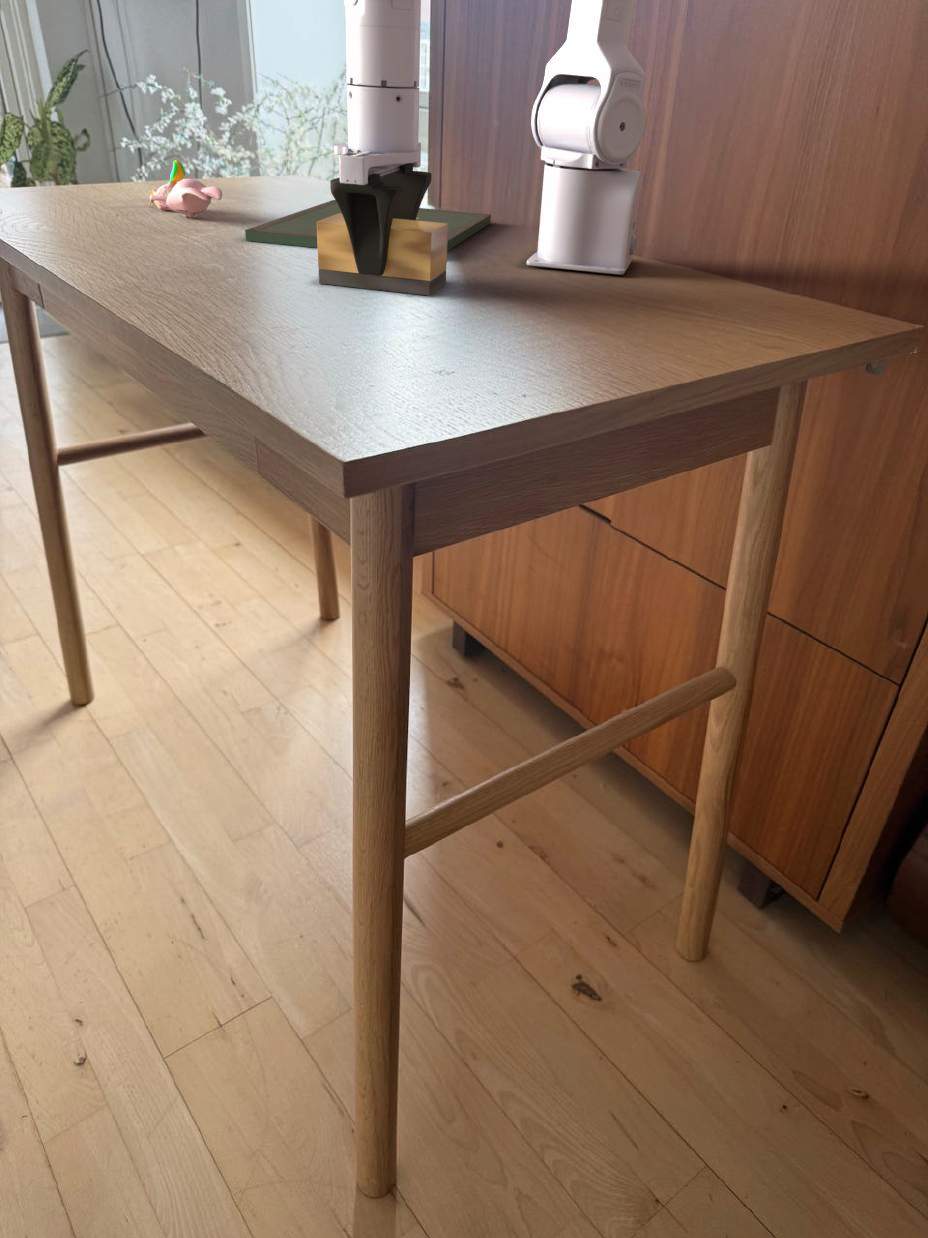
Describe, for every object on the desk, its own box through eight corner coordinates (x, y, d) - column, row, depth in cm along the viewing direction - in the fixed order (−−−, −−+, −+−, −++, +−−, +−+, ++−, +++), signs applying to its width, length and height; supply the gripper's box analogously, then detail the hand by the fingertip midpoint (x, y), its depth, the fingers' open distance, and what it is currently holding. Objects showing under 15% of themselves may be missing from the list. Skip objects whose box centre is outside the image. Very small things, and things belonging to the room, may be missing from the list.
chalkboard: (490, 223, 111) (491, 214, 110) (433, 259, 91) (433, 248, 90) (333, 208, 115) (333, 199, 114) (245, 240, 95) (244, 229, 94)
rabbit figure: (139, 220, 109) (188, 217, 98) (129, 163, 107) (177, 154, 96) (190, 217, 113) (242, 214, 101) (181, 162, 110) (234, 153, 99)
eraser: (446, 283, 82) (448, 223, 80) (429, 295, 78) (431, 232, 76) (339, 272, 84) (338, 212, 82) (318, 283, 80) (316, 221, 78)
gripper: (366, 80, 80) (368, 247, 87) (298, 85, 68) (306, 278, 75) (445, 85, 79) (440, 255, 86) (390, 91, 67) (389, 287, 74)
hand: (383, 266), depth 81 cm, fingers open, 6 cm apart
